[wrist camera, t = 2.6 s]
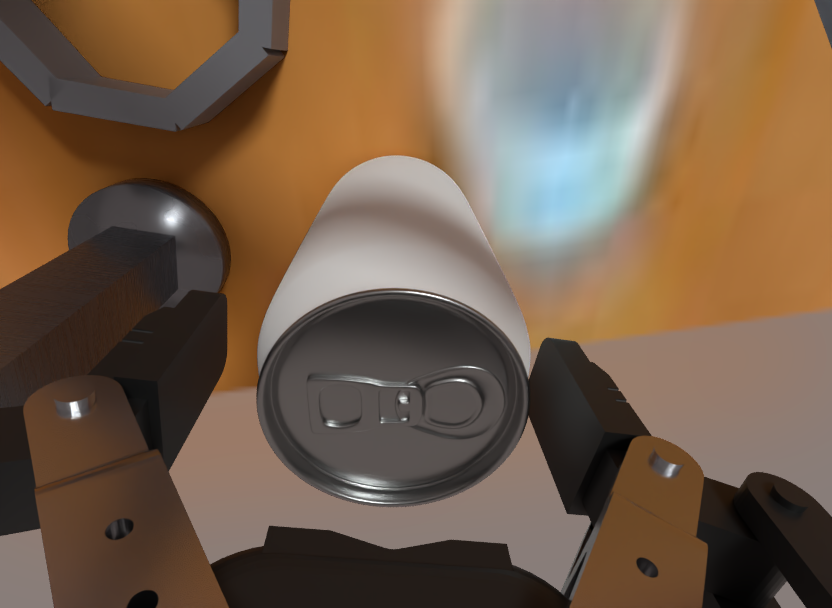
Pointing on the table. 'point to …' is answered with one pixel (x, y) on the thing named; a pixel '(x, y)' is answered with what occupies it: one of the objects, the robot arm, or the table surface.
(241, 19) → the collar
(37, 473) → the robot arm
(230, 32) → the table surface
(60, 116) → the table surface
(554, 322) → the table surface
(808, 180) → the table surface
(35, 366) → the dark grey piece
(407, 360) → the can
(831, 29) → the swing arm
